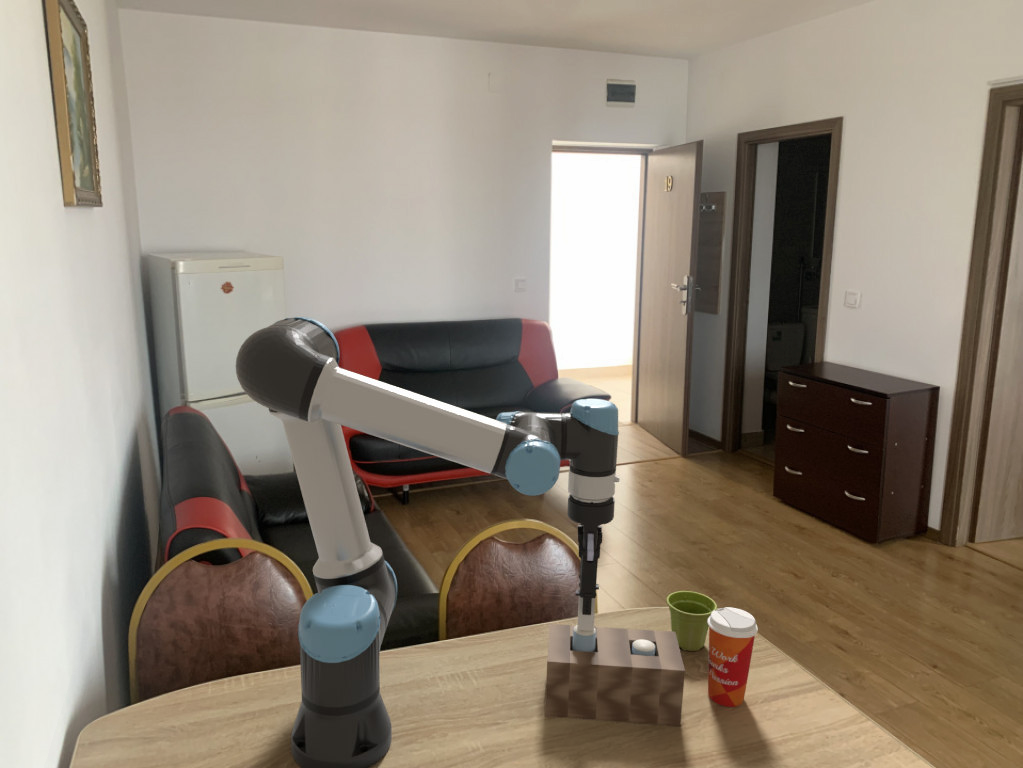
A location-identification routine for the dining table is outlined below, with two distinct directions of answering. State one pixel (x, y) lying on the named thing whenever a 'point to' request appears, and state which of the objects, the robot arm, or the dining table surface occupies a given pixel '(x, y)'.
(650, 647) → the peg
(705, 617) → the plant pot
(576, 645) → the peg
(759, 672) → the dining table surface
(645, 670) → the collar block
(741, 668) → the coffee cup
